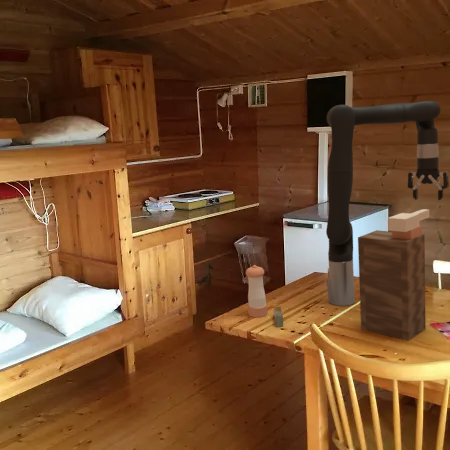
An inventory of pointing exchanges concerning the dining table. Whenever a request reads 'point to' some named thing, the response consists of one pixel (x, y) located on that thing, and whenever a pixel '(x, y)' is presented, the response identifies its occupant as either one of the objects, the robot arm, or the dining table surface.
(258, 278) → the pepper shaker
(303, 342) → the dining table surface
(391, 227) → the beige long block
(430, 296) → the dining table surface
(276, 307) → the medication box
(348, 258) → the robot arm
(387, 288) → the walnut stand
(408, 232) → the terracotta block
